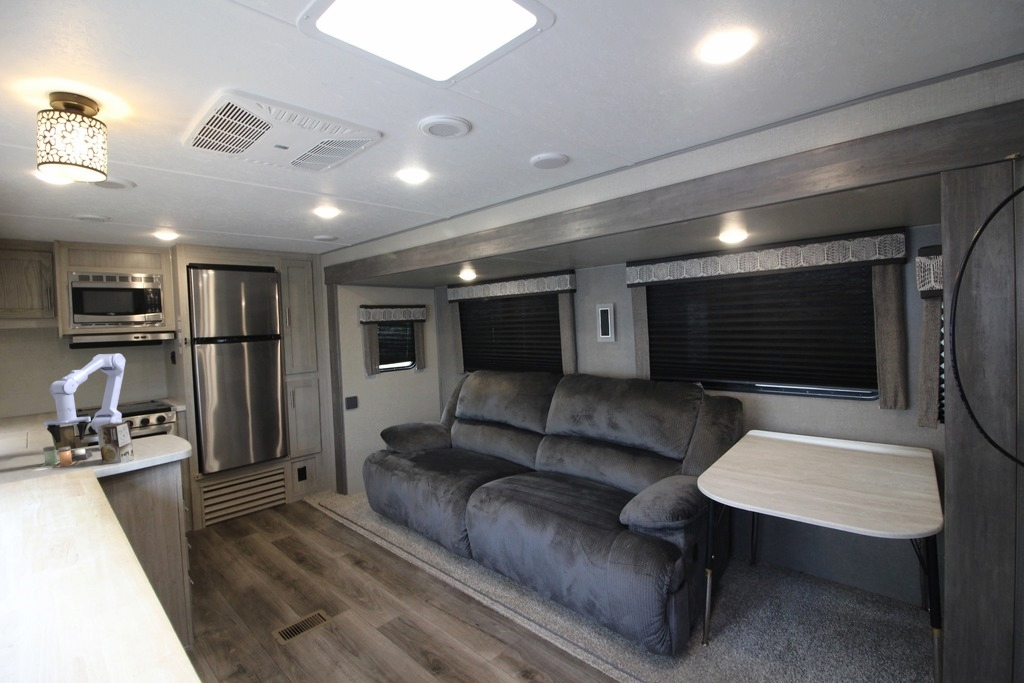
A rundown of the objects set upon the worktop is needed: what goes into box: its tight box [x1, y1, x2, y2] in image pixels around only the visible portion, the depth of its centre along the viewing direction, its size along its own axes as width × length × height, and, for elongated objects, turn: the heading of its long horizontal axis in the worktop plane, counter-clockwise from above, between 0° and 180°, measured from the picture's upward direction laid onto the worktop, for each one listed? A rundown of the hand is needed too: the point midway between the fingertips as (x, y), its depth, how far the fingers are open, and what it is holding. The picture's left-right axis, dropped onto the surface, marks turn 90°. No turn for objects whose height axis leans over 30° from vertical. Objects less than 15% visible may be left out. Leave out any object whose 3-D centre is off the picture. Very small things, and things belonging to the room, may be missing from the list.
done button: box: [73, 448, 86, 455], centre depth 204 cm, size 3×3×3 cm
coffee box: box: [97, 421, 135, 464], centre depth 200 cm, size 9×6×16 cm
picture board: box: [31, 450, 93, 472], centre depth 199 cm, size 16×13×3 cm
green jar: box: [42, 445, 58, 465], centre depth 199 cm, size 4×4×7 cm
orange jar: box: [57, 445, 72, 466], centre depth 197 cm, size 4×4×7 cm
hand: (70, 440), depth 200 cm, fingers open, 7 cm apart
